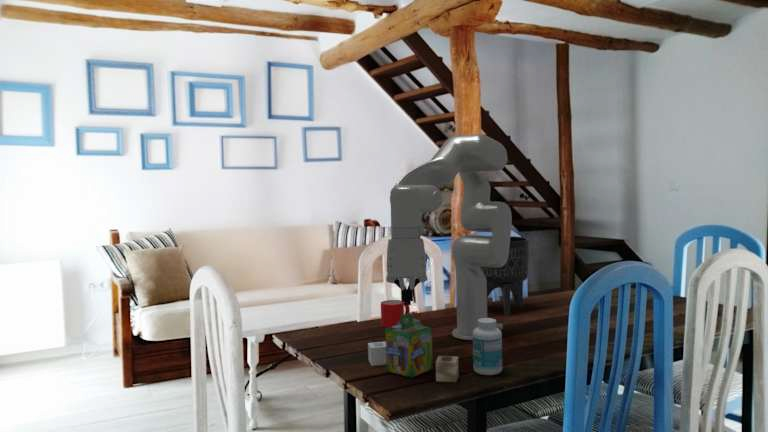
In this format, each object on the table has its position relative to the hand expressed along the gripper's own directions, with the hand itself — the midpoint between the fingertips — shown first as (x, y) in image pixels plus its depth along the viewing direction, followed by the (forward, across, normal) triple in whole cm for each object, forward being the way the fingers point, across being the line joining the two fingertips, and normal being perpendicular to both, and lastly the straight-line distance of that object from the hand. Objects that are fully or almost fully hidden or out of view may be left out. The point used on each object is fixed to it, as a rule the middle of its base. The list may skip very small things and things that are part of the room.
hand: (407, 304), depth 156 cm
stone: (+18, -1, -20) cm, 27 cm away
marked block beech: (+18, -9, +6) cm, 21 cm away
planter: (+17, -39, -63) cm, 77 cm away
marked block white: (+18, +8, -8) cm, 21 cm away
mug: (+18, +1, -49) cm, 52 cm away
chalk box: (+18, 0, 0) cm, 18 cm away
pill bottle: (+18, -20, +2) cm, 27 cm away
